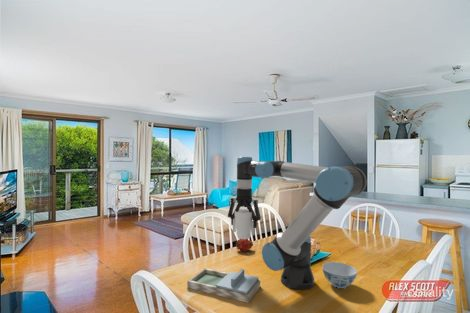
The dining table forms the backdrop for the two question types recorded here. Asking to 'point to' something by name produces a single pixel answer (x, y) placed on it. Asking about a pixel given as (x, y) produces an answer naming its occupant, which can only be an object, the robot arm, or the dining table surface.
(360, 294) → the dining table surface
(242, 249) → the dragon fruit
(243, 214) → the foam cup
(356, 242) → the dining table surface
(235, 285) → the lid
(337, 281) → the chinaware
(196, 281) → the grey flat rectangular tray
